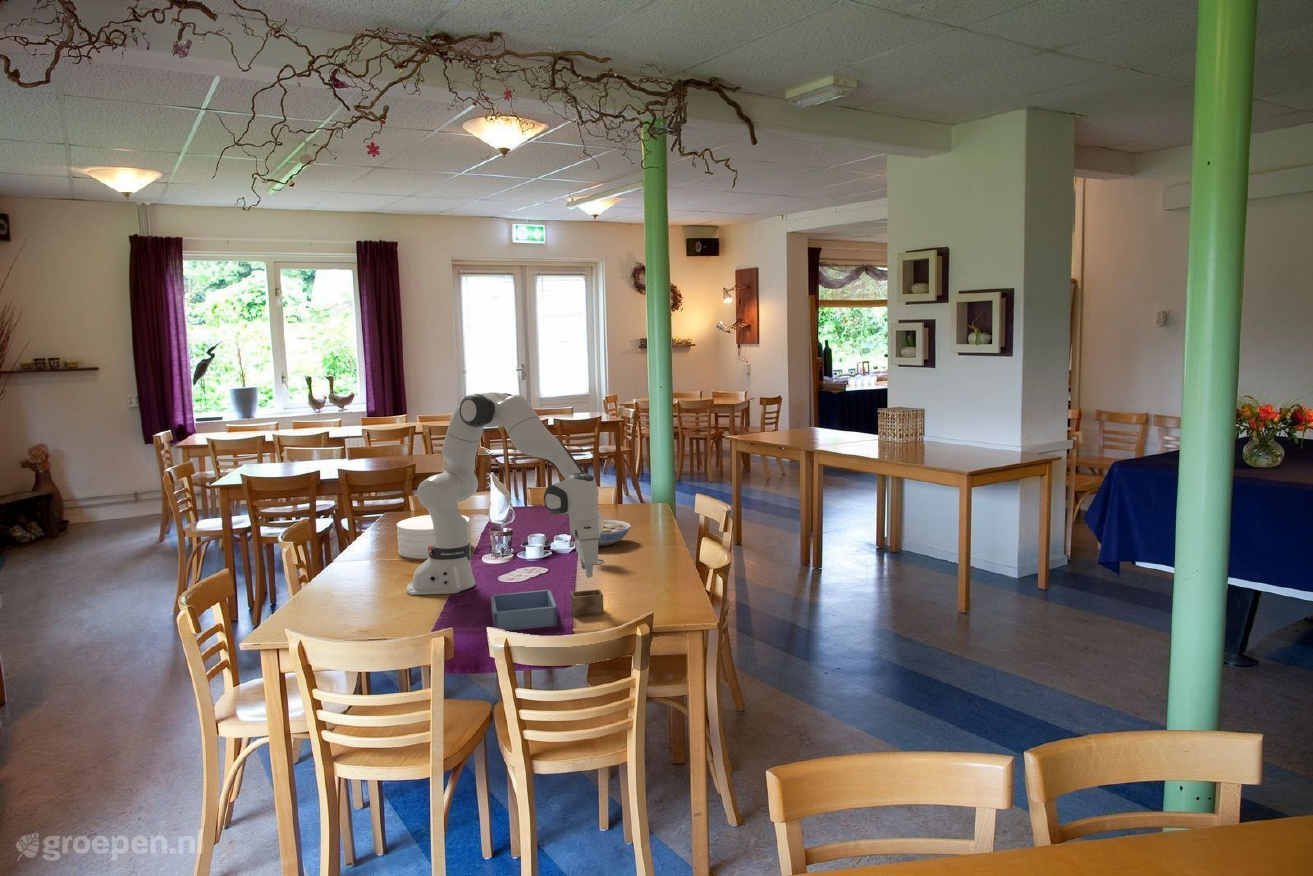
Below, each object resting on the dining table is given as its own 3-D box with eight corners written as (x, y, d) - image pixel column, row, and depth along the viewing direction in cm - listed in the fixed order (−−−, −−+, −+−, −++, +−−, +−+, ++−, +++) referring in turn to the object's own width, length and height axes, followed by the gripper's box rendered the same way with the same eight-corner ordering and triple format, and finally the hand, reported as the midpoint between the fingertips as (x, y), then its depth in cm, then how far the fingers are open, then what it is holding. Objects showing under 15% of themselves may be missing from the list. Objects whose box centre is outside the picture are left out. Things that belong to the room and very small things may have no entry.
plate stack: (480, 541, 358) (478, 513, 357) (458, 559, 330) (456, 529, 329) (414, 541, 361) (412, 514, 359) (387, 559, 333) (385, 529, 332)
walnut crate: (573, 617, 258) (573, 597, 257) (571, 611, 264) (570, 592, 263) (603, 614, 260) (602, 594, 259) (600, 608, 266) (599, 589, 265)
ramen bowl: (629, 551, 334) (629, 530, 333) (570, 552, 334) (569, 532, 334) (632, 536, 359) (632, 516, 358) (577, 537, 359) (576, 518, 358)
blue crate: (494, 632, 247) (493, 613, 246) (491, 612, 265) (490, 595, 264) (557, 625, 251) (556, 607, 250) (550, 607, 269) (549, 589, 268)
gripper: (569, 521, 268) (571, 565, 270) (579, 535, 249) (581, 582, 250) (589, 519, 270) (591, 563, 271) (600, 533, 250) (603, 580, 252)
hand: (586, 572), depth 261 cm, fingers open, 8 cm apart
